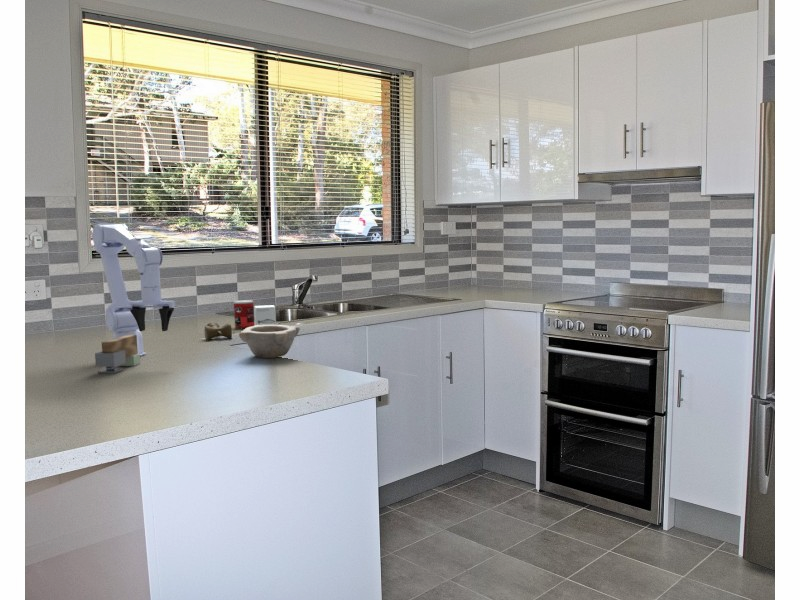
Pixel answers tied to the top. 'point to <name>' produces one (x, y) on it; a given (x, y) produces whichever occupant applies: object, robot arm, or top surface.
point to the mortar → (269, 339)
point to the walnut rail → (121, 345)
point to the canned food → (244, 313)
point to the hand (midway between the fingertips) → (153, 330)
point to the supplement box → (265, 315)
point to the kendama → (217, 330)
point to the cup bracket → (110, 361)
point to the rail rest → (132, 360)
